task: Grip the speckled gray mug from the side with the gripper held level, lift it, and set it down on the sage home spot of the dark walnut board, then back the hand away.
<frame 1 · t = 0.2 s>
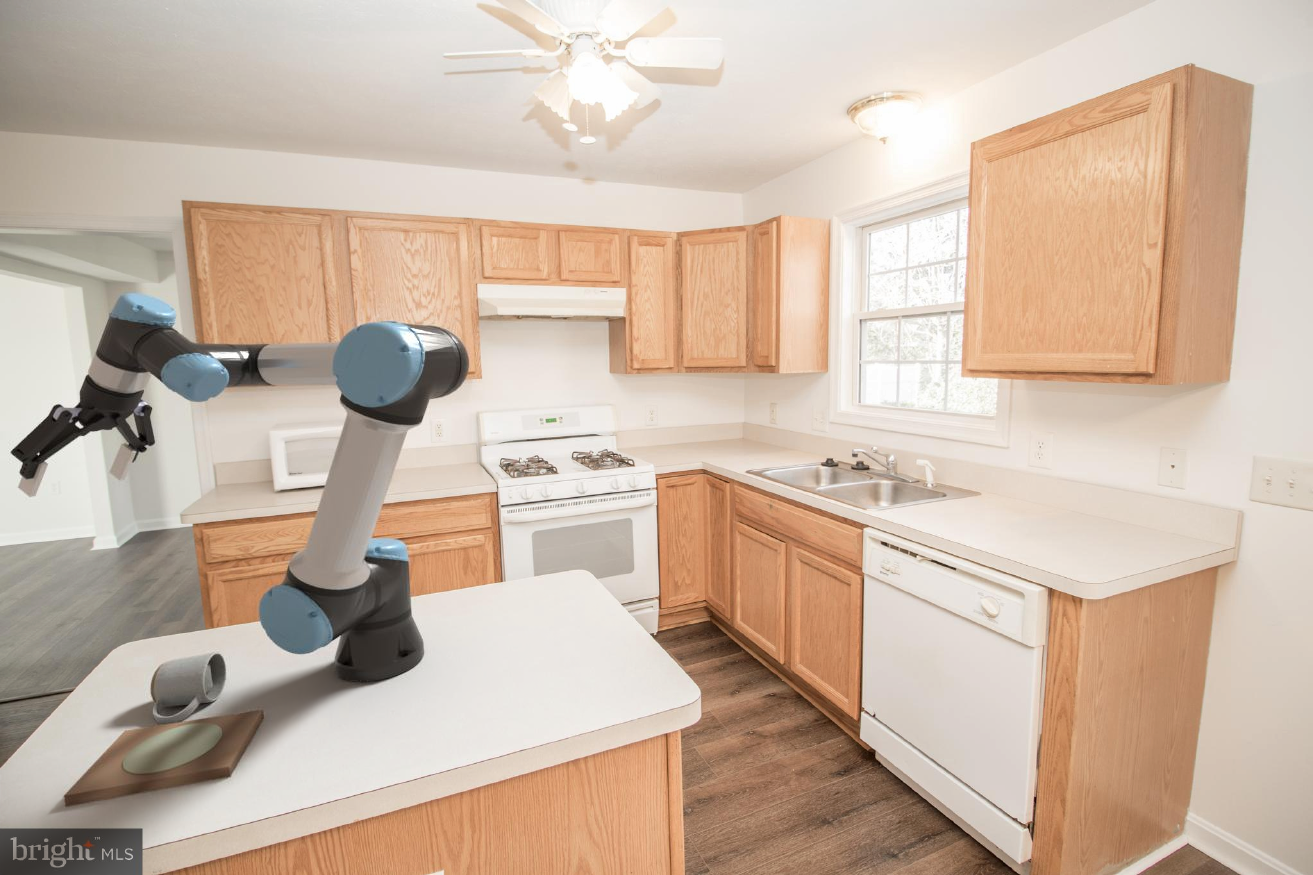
hand: (74, 483, 104), 35 cm above the counter, tool tilted 35°, fingers open, 13 cm apart
speckled gray mug: (189, 706, 98), on the counter
walnut board: (175, 757, 85), on the counter
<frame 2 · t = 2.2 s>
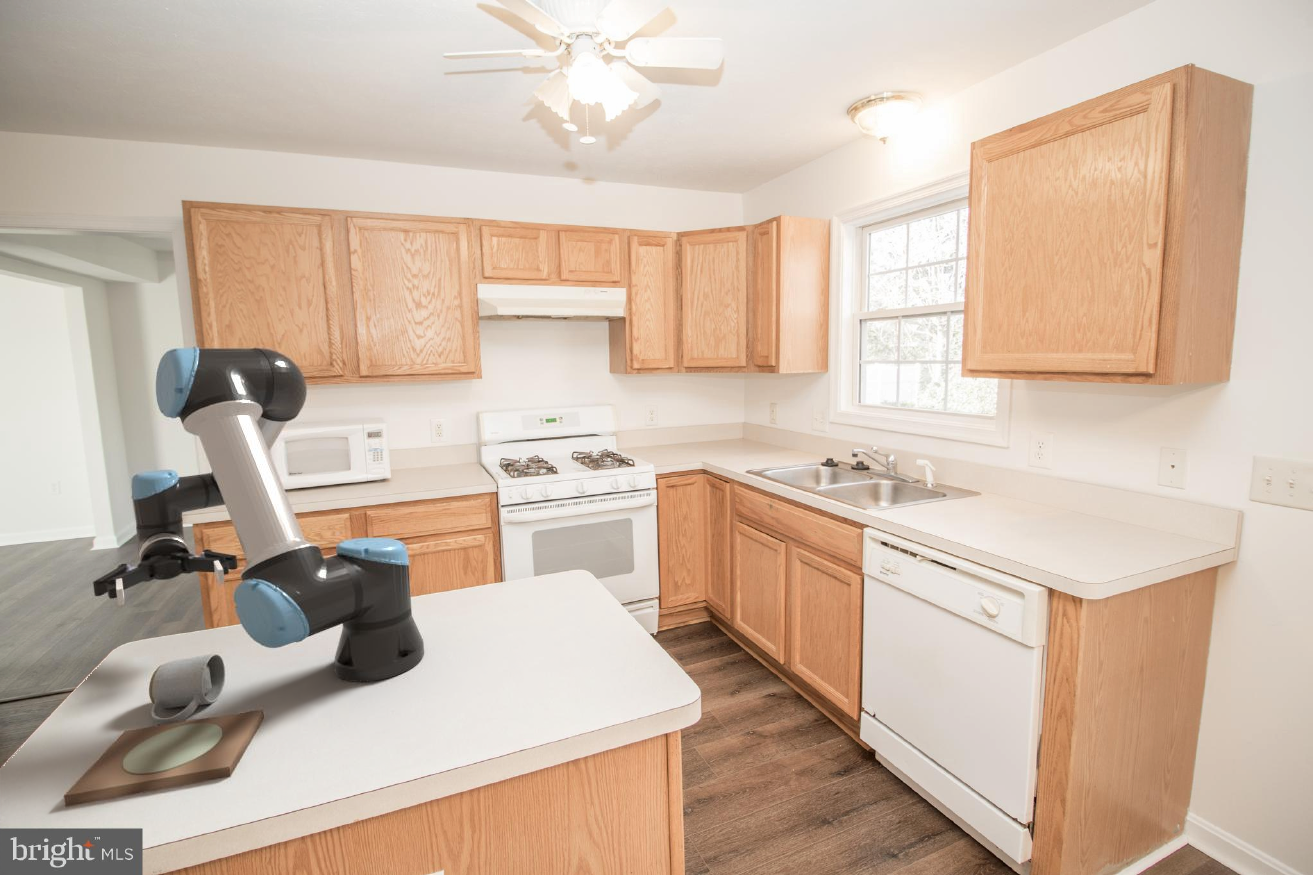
hand: (173, 586, 103), 17 cm above the counter, tool horizontal, fingers open, 13 cm apart
nothing on the counter moved.
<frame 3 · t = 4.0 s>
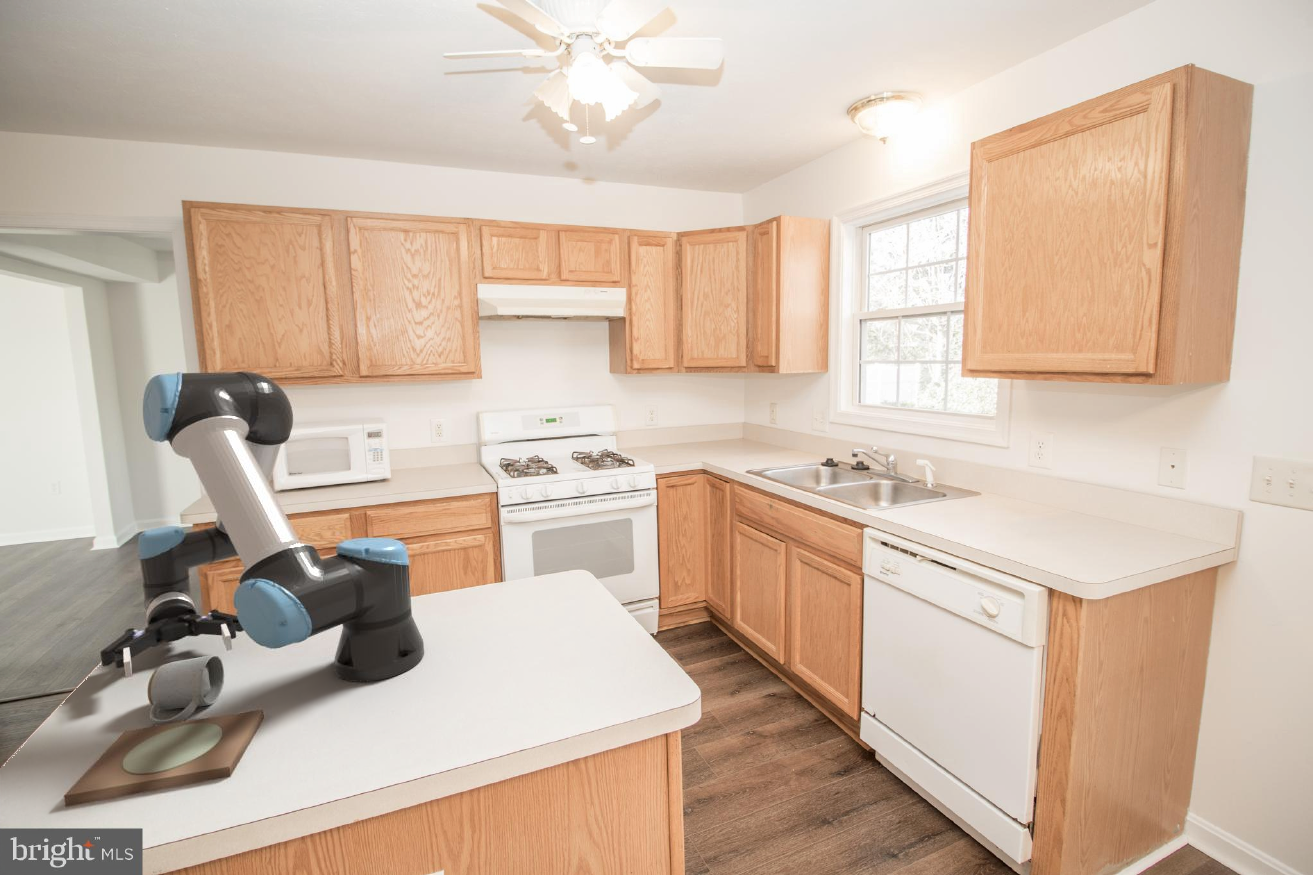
hand: (180, 655, 103), 6 cm above the counter, tool horizontal, fingers open, 13 cm apart
nothing on the counter moved.
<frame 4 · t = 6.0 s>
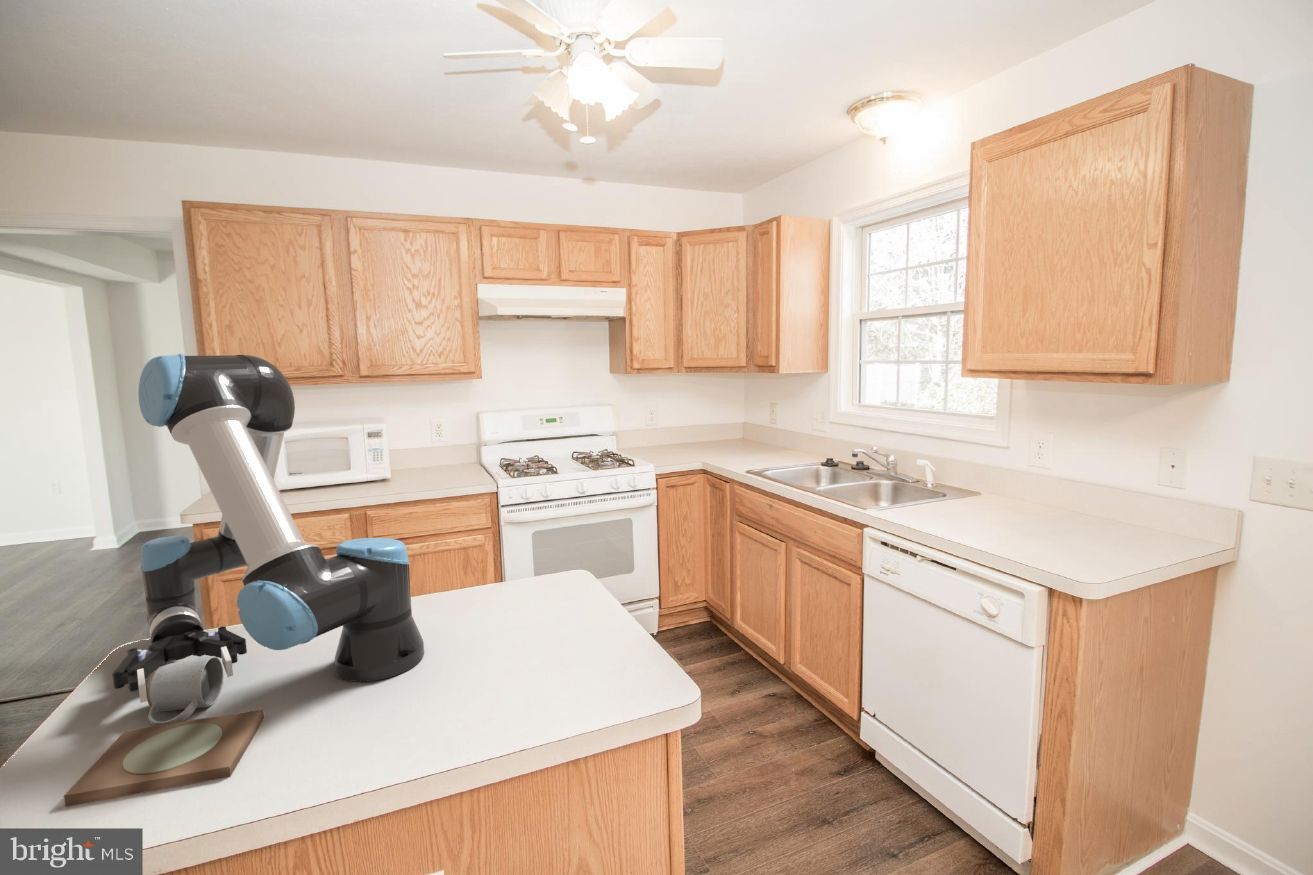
hand: (187, 680, 94), 6 cm above the counter, tool horizontal, fingers closed on speckled gray mug, 10 cm apart
speckled gray mug: (185, 711, 97), on the counter, touching gripper
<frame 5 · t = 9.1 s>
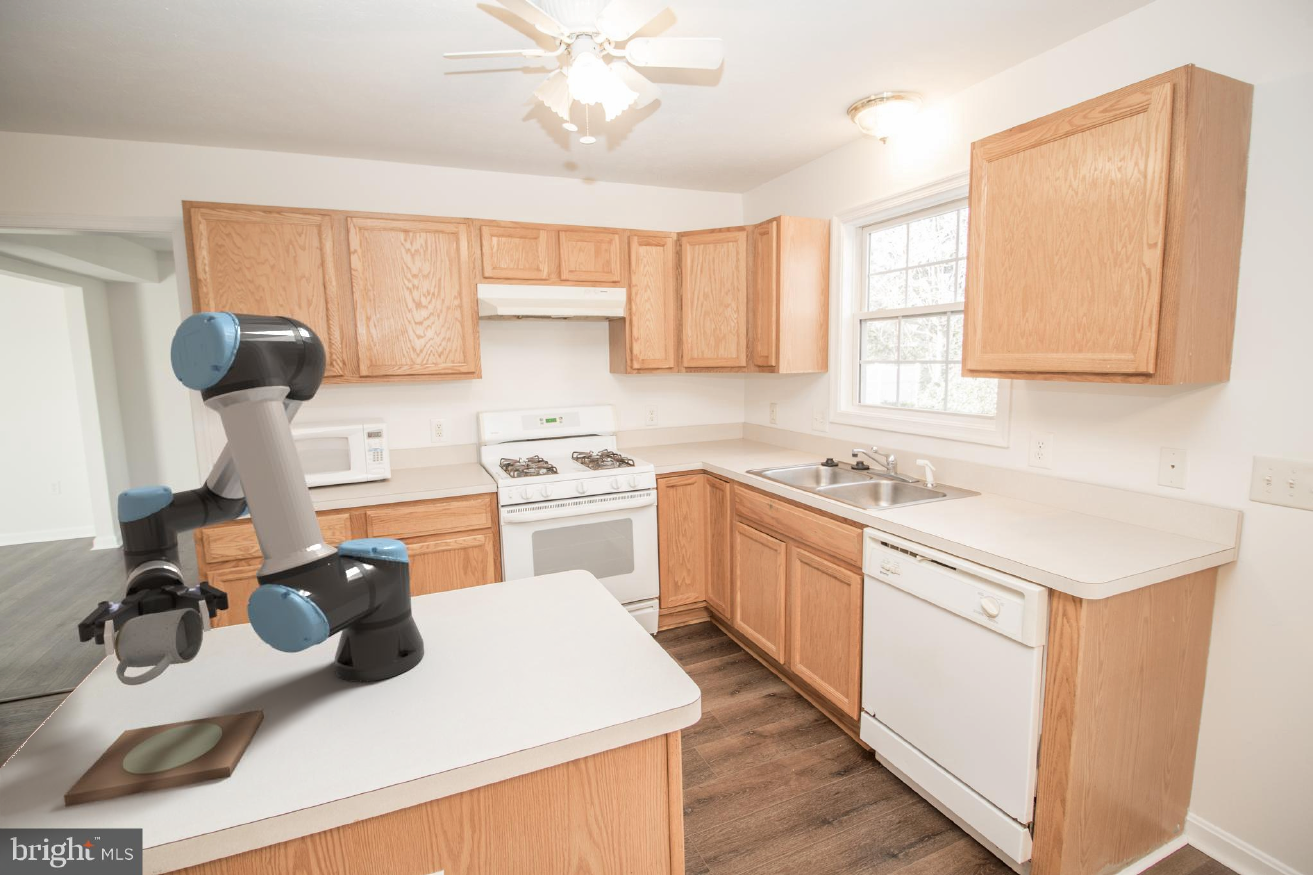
hand: (159, 633, 84), 18 cm above the counter, tool horizontal, fingers closed on speckled gray mug, 10 cm apart
speckled gray mug: (160, 668, 87), point 12 cm above the counter, touching gripper
when the fingers open (9 cm above the counter, at t = 11.9 s): speckled gray mug drops 1 cm, resting on walnut board.
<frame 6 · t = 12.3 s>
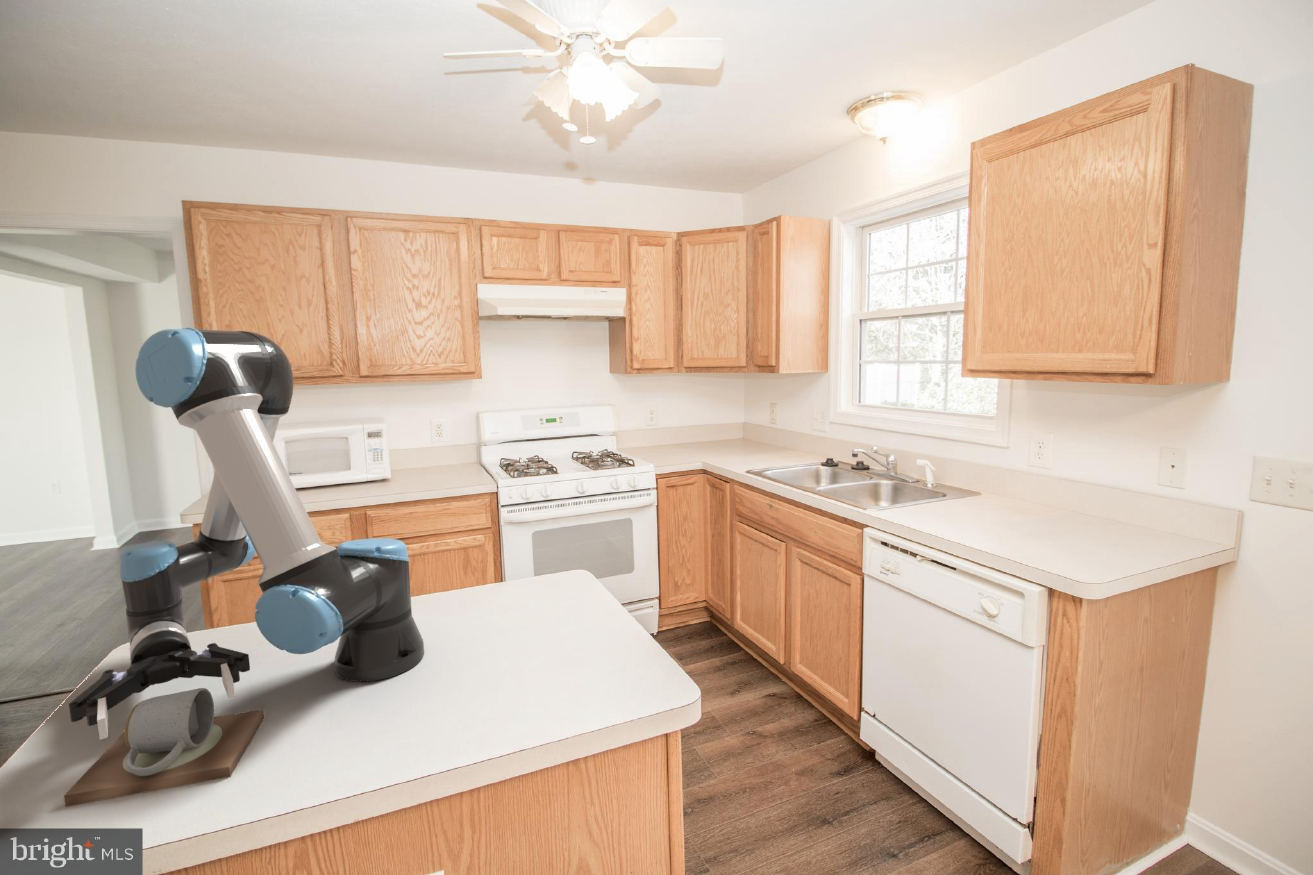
hand: (170, 708, 82), 9 cm above the counter, tool horizontal, fingers open, 13 cm apart
speckled gray mug: (170, 753, 84), point 1 cm above the counter, touching walnut board
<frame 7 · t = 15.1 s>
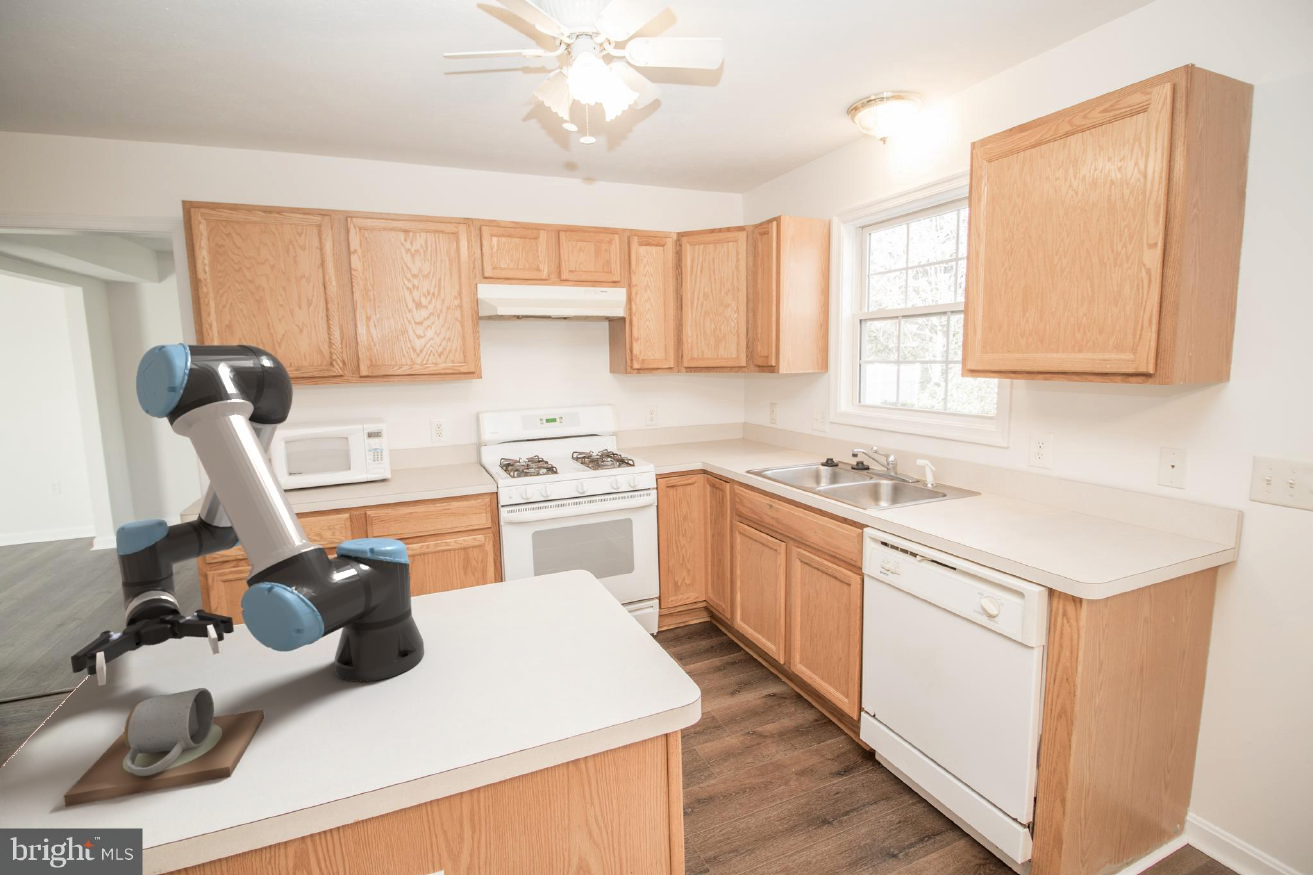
hand: (160, 660, 92), 10 cm above the counter, tool horizontal, fingers open, 13 cm apart
nothing on the counter moved.
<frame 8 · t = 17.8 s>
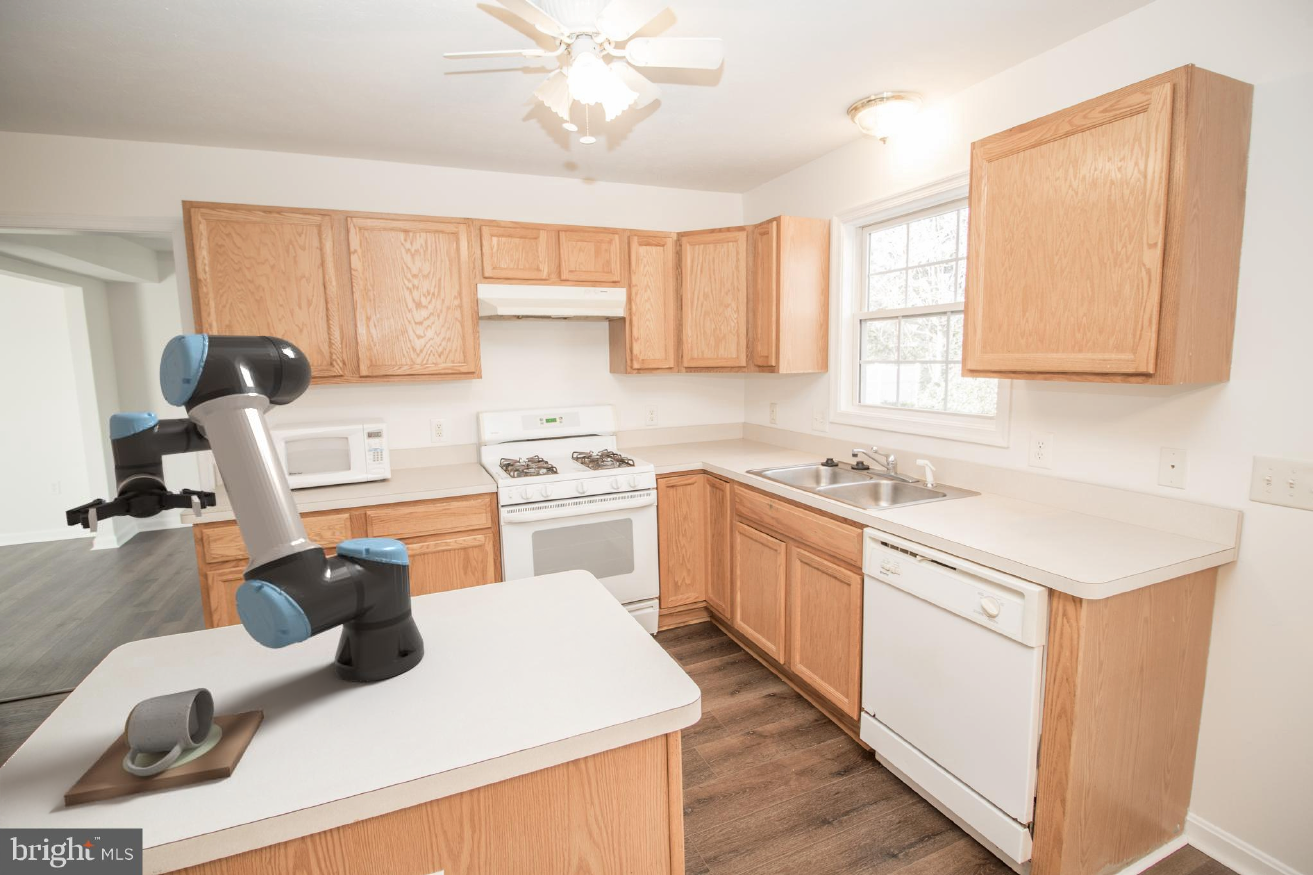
hand: (147, 516, 101), 30 cm above the counter, tool horizontal, fingers open, 13 cm apart
nothing on the counter moved.
at the end: speckled gray mug inside the target area on the walnut board (1.3 cm from its centre), point 1.5 cm above the walnut board's base; speckled gray mug tilted 0°; the gripper is holding nothing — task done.
